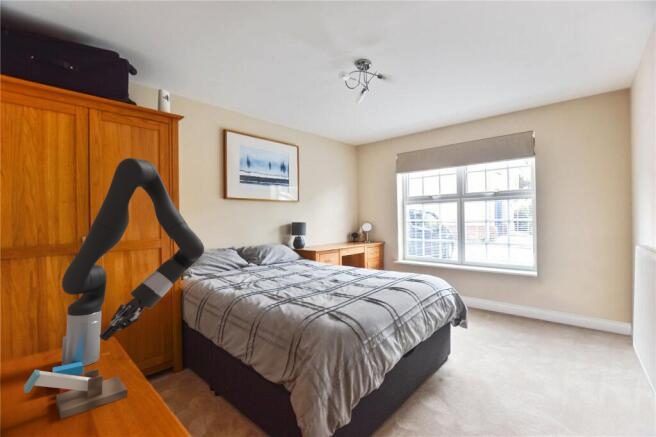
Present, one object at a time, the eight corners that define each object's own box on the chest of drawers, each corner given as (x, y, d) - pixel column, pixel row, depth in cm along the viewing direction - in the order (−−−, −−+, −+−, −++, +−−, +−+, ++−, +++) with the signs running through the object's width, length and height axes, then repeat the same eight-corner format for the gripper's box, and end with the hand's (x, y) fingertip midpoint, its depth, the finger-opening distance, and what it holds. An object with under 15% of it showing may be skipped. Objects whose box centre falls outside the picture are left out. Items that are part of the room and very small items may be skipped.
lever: (51, 391, 93) (50, 401, 80) (53, 367, 95) (52, 373, 82) (80, 384, 98) (83, 392, 85) (80, 361, 99) (84, 366, 87)
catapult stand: (117, 383, 91) (118, 359, 91) (127, 396, 84) (128, 371, 84) (55, 402, 80) (57, 376, 80) (61, 419, 74) (62, 391, 74)
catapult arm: (96, 377, 84) (35, 369, 75) (99, 382, 82) (36, 374, 73) (87, 393, 83) (23, 386, 74) (90, 398, 80) (24, 392, 71)
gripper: (136, 278, 96) (86, 325, 86) (150, 285, 87) (95, 338, 77) (154, 292, 99) (107, 339, 90) (169, 300, 90) (119, 353, 81)
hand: (102, 338), depth 84 cm, fingers closed
